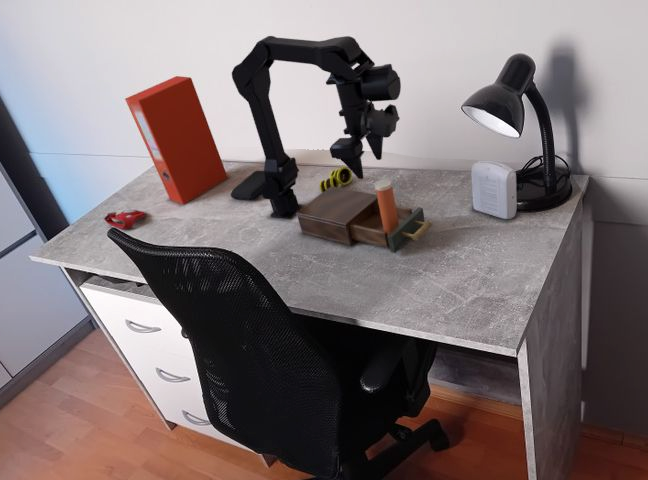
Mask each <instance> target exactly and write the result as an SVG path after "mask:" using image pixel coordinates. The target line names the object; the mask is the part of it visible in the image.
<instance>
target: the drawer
mask: <svg viewBox="0 0 648 480" xmlns="http://www.w3.org/2000/svg"><path fill="white" fill-rule="evenodd" d="M396 210H397V216H398V222H399V226H398V227H397V228H395V229H394V230H393V231H392V232H391V233H390V234H387V232H385V231H384V228H383V223H382V218H381V213H380V208H379V203H378V202H375V203H374V204H373V205H372V206H371V207H369V208H368V209H367V210H366V211H365V212H364V213H362V214H361V215H360V216H359V217H358V218H356V219H355V220H354V221H353V222H352V223H351V224H349V225H348V227H349V231H350V235H351V239H354V240H358V241H359V242H363V243H365V244H370V245H375V246H378V247H382V248H386V249H388V248H389V250H390V253H393V254H396V253H397V252H398V251H399V250H400V249H401V248H402V247H403V246H404V245H405V244H407V242H408V241H409V240H411V239H412V240H413V241H415V242H417V241H418V240H419V239H420V238H421V237H422V236H423V235H424V234H425V233H426V232H427V231H428V230H429V229H430V228H431V227H432V225H433V223H432V222H431V221H429V220H427V221H426V220H425V214H424V208H423V207H419V206H418V207H417V208H416V209H414V211H413V208H412V207H406V206H400V205H396ZM358 241H357V242H358Z"/></svg>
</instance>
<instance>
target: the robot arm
mask: <svg viewBox="0 0 648 480" xmlns="http://www.w3.org/2000/svg"><path fill="white" fill-rule="evenodd" d="M276 61H278V62H290V63H295V64H296V63H298V64H308V65H313V66H317V68H319V69H320V70H321V71H323V72H327V73H330V74H329V77H328V78H327V80H326V81H325V85H327V86H330V85H331V86H332V85H335V87H336V92H337V95H338V99H339V104H340V107H341V109H340V110H339V111H338V115H339V117H343V118H344V122H345V126H346V127H345V128H344V129H343V130H342V131H343V135H349V136H350V137H338V138H337V140H336V141H334V142H333V143H332V144H331V145H330V147H329V153H330V156H331V158H332V159H336V160H340V161H341V162H342V163H343V164H344V165H345V166H346V167H347V168H349V169H350V170H351V173H352V174H354V175H355V177H356V178H357V179H358V180H363V179H364V170H363V169H364V168H363V163H362V157H363V155H364V153H365V150H363V149H364V144H363V140H364V139H365V140H366V142H367V144H368V146H369V148H370V149H371V152H372V154H373V156H374V157H375V159H376V160H377V161H381V160H382V157H383V146H384V138H390V137H391V135H392V134H393V133H395V132H396V130H397V124H398V122H399V121H400V120H401V119H400V116H399V112H398V109H397V106H396V105H395V104H391V103H389V104H388V105H387V106H386V107H385V109H384V108H381V109H376V107H375V103H373V102H385V101H396V100H398V99H399V97H400V94H401V90H402V84H401V77H400V76H399V73H398V72H397V71H396V70H395V69H393V65H392V64H391V63H387V64H386V63H385V64H383V65H377V66H376V63H375V62H374V61H373V60H372V59H371V58H370V56H369V55H368V54H367V52H365V51H364V49H362V48H361V46H360V44H359V43H358V41H357V40H356V38H354V37H352V36H349V35H347V36H346V35H345V36H337V37H332V38H328V39H326V40H308V39H307V40H306V39H299V38H286V37H276V36H274V35H268V36H265V37H264V38H262V39H260V40H259V41H257V42H256V43H255V45H254V47H252V50H251V51H250V52H249V53H248V55H247V56H245V58H244V59H243V60H242V61H241V62H240V63H238V64H237V65H235V66H233V69H232V71H231V78H232V81H233V84H234V85H235V88H236V90H237V92H238V94H239V95H240V96H241V97H242V98H243V99H244V100H245V101H246V102H247V104H248V106H249V108H250V112H251V116H252V119H253V121H254V126H255V128H256V131H257V135H258V138H259V141H260V144H261V145H260V146H261V148H262V151H263V154H264V158H265V159H264V166H263V171H264V176H265V182H266V183H265V185H264V187H263V188H262V190H261V192H260V193H261V194H262V195H261V196H262V198H263V199H264V200H269V203H270V205H271V208H272V213H271V214H270V218H279V219H291V218H292V217H293V216H294V215H295V214H296V213H297V212H298V211H299V210H301V209H302V208H303V205H302V204H301V203H300V204H299V202H298V199H297V195H296V194H295V192H294V189H293V188H292V187H294V186H295V185H296V184H297V179H298V177H299V172H300V169H299V168H298V165H297V159H296V157H294V156H293V157H290V156H289V154H287V153H286V151H285V147H284V145H283V141H282V139H281V135H280V131H279V128H278V127H279V126H278V123H277V120H276V116H275V113H274V110H273V106H272V102H271V100H270V91H271V84H272V81H271V74H270V73H271V72H270V68H271V67H272V66H273V64H274V63H275V62H276ZM357 64H358V65H357ZM356 65H357V66H356ZM353 67H354V68H353Z"/></svg>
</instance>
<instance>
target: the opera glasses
mask: <svg viewBox="0 0 648 480" xmlns="http://www.w3.org/2000/svg"><path fill="white" fill-rule="evenodd" d="M352 178H353V172H352V171H351V170H350V169H349V168H348V166H341V167H340V168H337V169H333V170H331V172H330V174H329V177H328V178H326V179H324V180H320V182H319V185H318V186H319V191H320V192H321V194H322V193H323V192H324V191H326V190H327V189H328V188H330V187H331V186H333V187H338V188H341V185H342V186H346V185H347V186H348V185H349V184H350V183H351V181H352Z"/></svg>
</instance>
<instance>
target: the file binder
mask: <svg viewBox="0 0 648 480" xmlns="http://www.w3.org/2000/svg"><path fill="white" fill-rule="evenodd" d="M195 87H196V86H195V84H194V82H193V79H192V77H189V76H178V75H176V76H173V77H171V78H169V79H167V80H164V81H162V82H160V83H157V84H155V85H153V86H151V87H148V88H146V89H144V90H142V91H138V92H137V93H134V94H132V95H130V96H128V97H126V98H124V100H125V102H126V104H127V106H128V109H129V112H130V113H131V115H132V118H133V120H134V122H135V124H136V127H137V129H138V131H139V133H140V135H141V138H142V140H143V142H144V145H145V147H146V149H147V151H148V154H149V156H150V158H151V160H152V163H153V164H154V167H155V169H156V171H157V174H158V175H159V178H160V180H161V182H162V185H163V187H164V189H165V191H166V194H167V196H168V199H169V200H170V201H173V202H175V203H178V204H181V205H185V204H187V203H189V202H191V201H192V200H194V199H196V198H197V197H199V196H200V195H202V194H204V193H205V192H207V191H209V190H210V189H212V188H214V187H215V186H217V185H218V184H220V183H222V182H224V181H225V180H227V179H228V175H227V172H226V169H225V166H224V164H223V160H222V158H221V155H220V153H219V149H218V147H217V145H216V142H215V138H214V136H213V133H212V131H211V128H210V125H209V123H208V120H207V117H206V115H205V112H204V108H203V106H202V104H201V101H200V98H199V95H198V93H197V89H196V88H195Z"/></svg>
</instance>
